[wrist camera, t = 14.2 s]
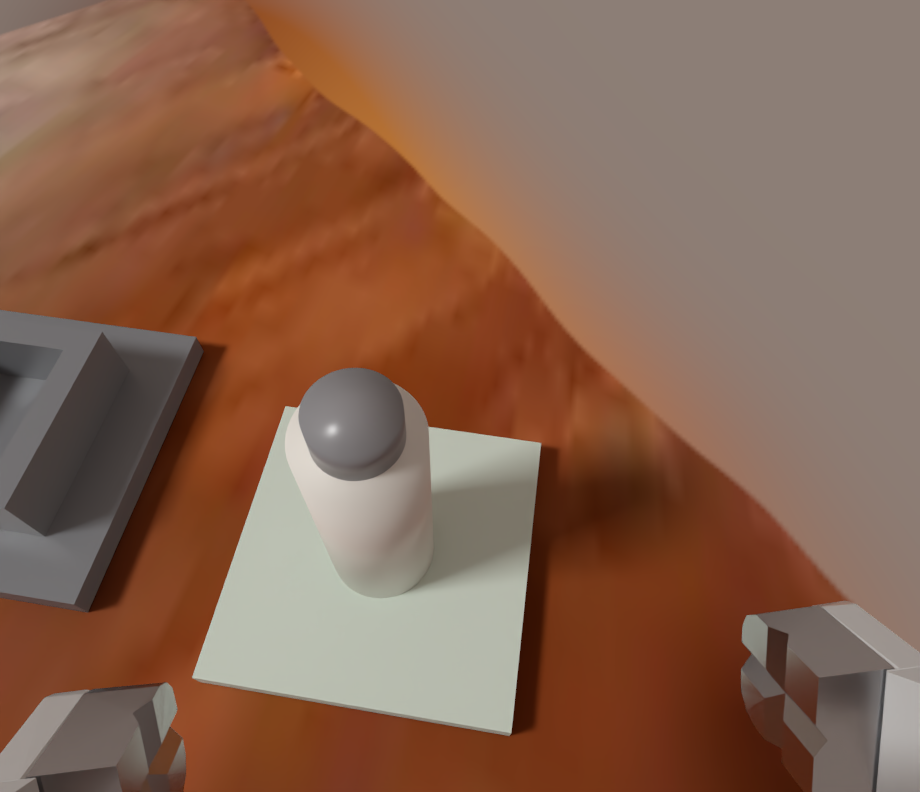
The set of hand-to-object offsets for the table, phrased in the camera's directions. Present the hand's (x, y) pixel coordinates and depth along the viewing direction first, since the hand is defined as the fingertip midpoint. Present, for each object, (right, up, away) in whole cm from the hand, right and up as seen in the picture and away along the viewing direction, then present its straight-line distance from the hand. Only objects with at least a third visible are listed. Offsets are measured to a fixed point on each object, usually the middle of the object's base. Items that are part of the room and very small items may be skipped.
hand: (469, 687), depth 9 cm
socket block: (-17, +2, +16) cm, 24 cm away
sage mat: (-3, -2, +14) cm, 15 cm away
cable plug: (-3, -1, +14) cm, 14 cm away
